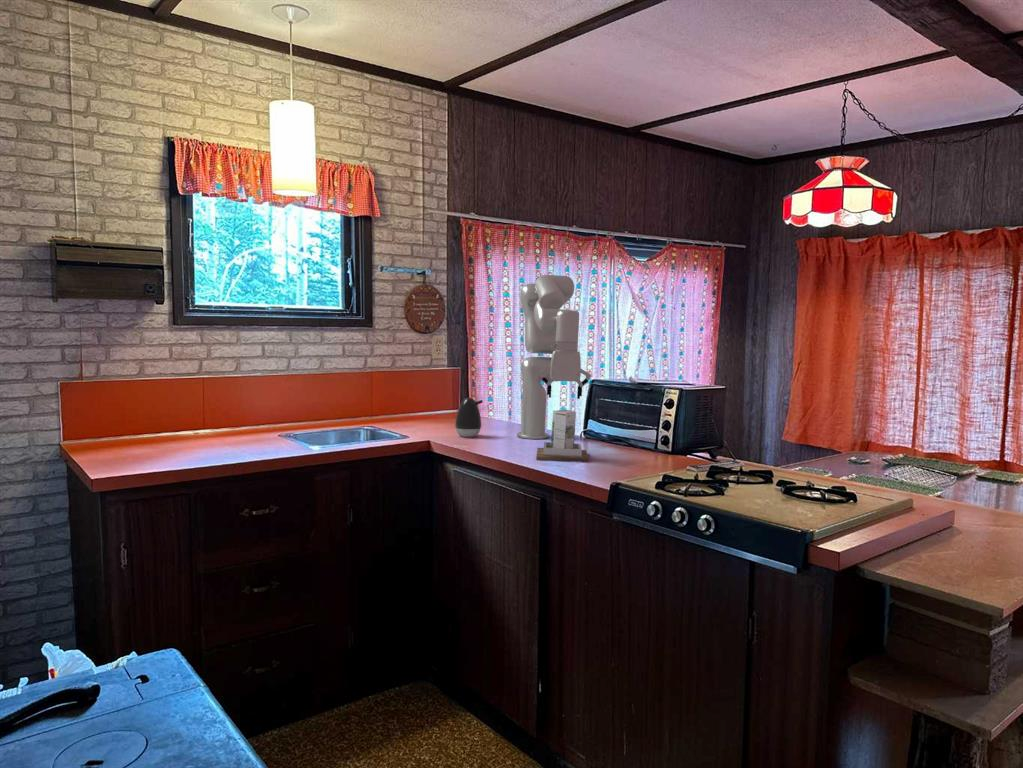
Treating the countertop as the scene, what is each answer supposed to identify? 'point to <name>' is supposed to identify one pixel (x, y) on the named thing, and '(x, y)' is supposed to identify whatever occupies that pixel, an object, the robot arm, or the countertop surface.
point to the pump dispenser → (468, 418)
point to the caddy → (562, 453)
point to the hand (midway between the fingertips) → (564, 397)
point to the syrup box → (563, 429)
